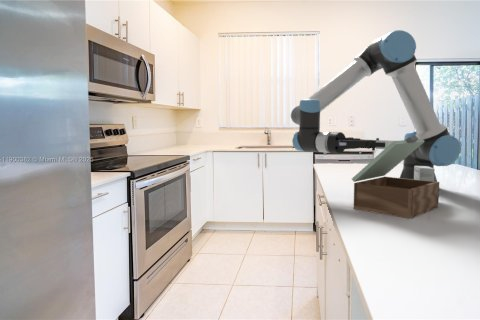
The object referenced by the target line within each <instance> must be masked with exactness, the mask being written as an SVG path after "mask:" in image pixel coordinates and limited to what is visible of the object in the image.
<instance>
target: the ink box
mask: <svg viewBox="0 0 480 320" xmlns="http://www.w3.org/2000/svg"><path fill="white" fill-rule="evenodd" d="M434 172H435V168H431V167H428V166H414V179H415V180H425V181H434Z"/></svg>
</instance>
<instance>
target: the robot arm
mask: <svg viewBox="0 0 480 320" xmlns="http://www.w3.org/2000/svg"><path fill="white" fill-rule="evenodd" d="M416 50H417V43H416V40H415V38H414V37H413V36H412V34H411V33H410V32H408V31H405V30H401V29H398V30H397V29H395V30H393V31H390V32H387V33H386V34H383V35H382V36H380V37H378V38H376V39H374V40H372V42H370V43H369V44H368V45H367V46H366V47H365V48H364V49H363V50H362V51H361V52H359V54H357V55H356V56H355V57H354V58H353V62H351V63H350V64H349V65H347V67H345V68H344V69H343V70H341V72H339V73H337V74H336V76H334V77H333V78H332V79H330V80H329V81H328V82H327V83H326V84H324V85H322V87H320V88H319V89H318V90H317V91H316V92H314V93H313V94H312V95H310V96H309V97H308V98H307V99H305V98H303V99H300V101H299V105H297V106H295V107H294V108H293V109H292V110H291V112H290V118H291V122H292V123H294V124H296V125H298V127H299V129H298V131H296V132H295V133H294V134H293V137H292V146H293V148H294V149H295V151H296V150H297V151H300V152H306V153H323V155H326V154H342V153H343V152H344V151H345V150H354V149H355V150H357V149H368V150H369V149H371V150H372V152H373V151H376V150H377V149H378V150H384V149H385V148H386V147H388V146H389V145H390V144H391V143H392V142H393V141H394V140H389V139H388V140H381V139H380V138H379V137H376V138H375V139H361V138H360V137H358V138H357V137H356V138H354V137H352V136H351V137H346V135H345V133H343V132H339V131H320V128H321V127H320V126H321V112H323V111H324V110H325V109H326V108H327V107H329V106H330V105H332V104H333V103H334V102H335V101H337V99H339V98H340V97H341V96H343V95H344V94H345V93H347V91H349V90H350V89H352V88H353V87H354V86H356V85H357V83H359V82H361V80H363V79H364V78H365V77H371V76H372V75H373V74H374V73H376V72H377V71H380V70H383V72H384V74H385V75H386V76H389V77H391V79H392V82H393V84H394V85H395V87H396V90H397V92H398V94H399V96H400V99H401V101H402V103H403V106H404V107H405V110H406V113H408V116H409V118H410V121H411V123H412V125H413V127H414V130H415V131H408V132H406V133H405V135H404V139H403V140H406V139H407V138H408V137H412V136H416V137H417V138H418V139H423V140H424V141H425V142H424V143H423V144H421V145H420V146H419V147H418V148H417V149H415V150H414V151H413V152H412V153H411V154H410V155H408V156H407V157H406V158H405V159H404V160H403V166H402V170H401V173H400V176H399V178H405V179H414V166H428V167H431V168H434V166H436V167H448V166H451V165H453V164H454V163H456V161H457V160H458V158H459V156H460V154H461V150H462V147H461V146H462V145H461V142H460V140H459V139H458V138H457V137H455V136H453V135H451V134H450V132H449V130H448V128H447V125H444V124H441V123H440V121H439V119H438V117H437V114H436V112H435V109H434V108H433V106H432V103H431V100H430V98H429V95H428V94H427V92H426V89H425V87H424V85H423V84H424V83H422V80H421V78H420V75H419V73H418V71H417V69H416V67H415V66H416V63H417V61H418V60H417V58H416V55H415V53H416ZM434 169H435V168H434ZM436 176H437V175H436V173H435V171H434V181H435V182H438V180H437V177H436Z"/></svg>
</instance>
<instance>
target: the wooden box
mask: <svg viewBox="0 0 480 320" xmlns="http://www.w3.org/2000/svg"><path fill="white" fill-rule="evenodd" d="M439 197H440V181H437V182H435V181H425V180H415V179H405V178H400V177H392V176H380V177H375V178H370V179H366V180H361V181H356V182H354V183H353V209H354V210H359V211H363V212H364V211H365V212H371V213H376V214H382V215H388V216H393V217H401V218H406V219H413V218H416V217H418V216H421V215H423V214H425V213H428V212H431V211H433V210H435V209H438V208H439V202H440V201H439V200H440V199H439Z"/></svg>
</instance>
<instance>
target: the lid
mask: <svg viewBox="0 0 480 320" xmlns="http://www.w3.org/2000/svg"><path fill="white" fill-rule="evenodd" d="M392 141H393V142H392V143H391V144H390V145H389V146H388V147H386V148H385V149H382V151H380V152H379V154H378V155H376V156H375V157H374V158H373V159H372V160H371V161H369V162H368V163H367V165H365V166H364V167H363V168H361V170H360V171H359V172H357V173H356V174H355V175H354V176H352V178H351V180H352V182H354V183H357V182H362V181H366V180H371V179H376V178H381V177H386V175H387V174H388V173H390V172H391V171H393V169H394V168H395V167H396V166H398V165H399V164H401V162H402V161H403V162H404V159H405V158H406V157H407V156H408V155H410V154H411V153H412V152H413V151H414V150H415V149H417V148H418V147H419V146H420V145H421V144H423V143H424V142H425V141H424V140H423V139H418V138H417V137H416V136H412V137H408V138H407V139H406V140H404V139H403V140H402V139H401V140H392Z"/></svg>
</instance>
